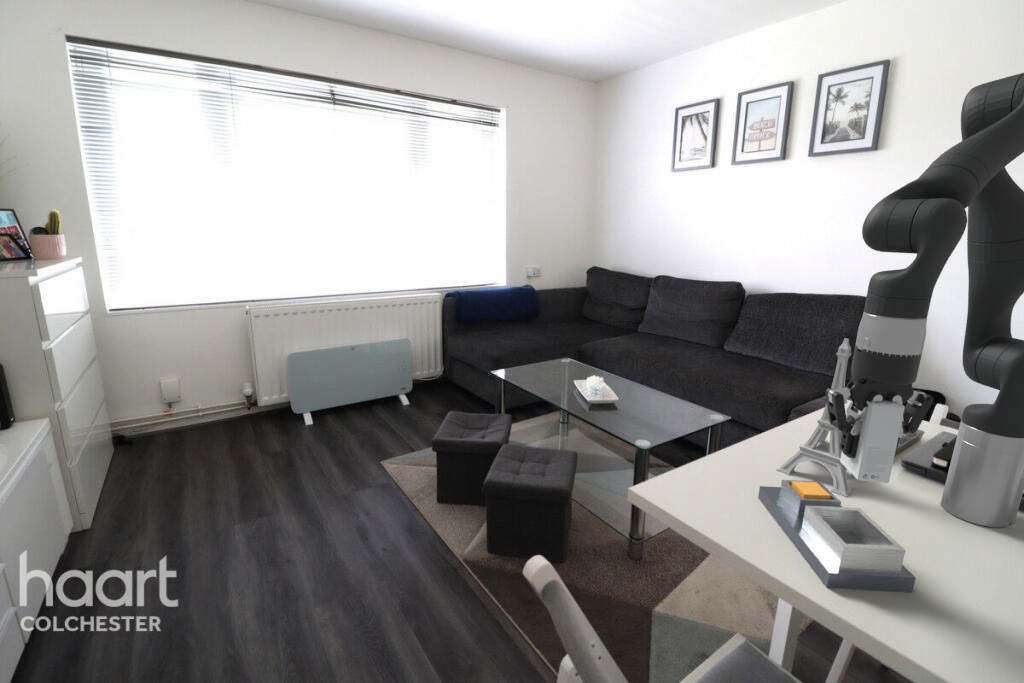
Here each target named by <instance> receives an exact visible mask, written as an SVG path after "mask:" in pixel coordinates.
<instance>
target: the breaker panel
mask: <svg viewBox="0 0 1024 683" xmlns="http://www.w3.org/2000/svg"><path fill="white" fill-rule="evenodd" d="M792 481H795V482H817V483H818V484H819V485H820V486H821V487H822V488H823V489H824V490H825V491H826V492H827V493H828V494H829V495H830V500H829V499H807V498H801V496H800V495H799V494H798V493H797V492H796V491H795V490H794V489H793V488H792V487H791V485H792ZM758 490H759V491H758V496H757V498H758V500H759V501H760V502H761V503H762V505H763V507H765V509H766V511H767V512H768V513H769V514H770V515H771V517H772V518H773V519H774V520H775V522H776V524H778V526H779V527H780V529H781V530H782V531H783V532H784V534H785V535H786V536H787V537H788V539H789V540H790V542H791V543H792V544H793V546H794V547H795V548H796V550H797V551H798V552H799V553H800V555H801V556H802V558H804V560H805V562H807V564H808V565H809V566H810V568H811V570H813V572H814V573H815V574H816V576H817V577H818V578H819V580H820V581H821V582H822V584H823V585H824V587H825V588H827V589H828V588H829V589H848V590H862V591H865V590H867V591H880V592H881V591H882V592H897V593H900V592H901V593H913V591H914V586H915V582H916V579H917V578H916V576H915V575H913V573H912V572H910V571H909V570H908V569H907V567H905V566H904V565H903V563H904V559H905V554H906V549H905V548H904V547H903V546H902V545H901V544H900V543H898V541H896V540H895V539H894V538H893V537H892V536H891V535H890V534H889V533H888V532H887V531H886V530H884V529H883V528H882V527H881V526H880V525H879V524H878V523H877V522H876V521H874V520H873V519H872V518H871V517H870V516H869V515H868V514H867V513H866V512H865V511H863V509H862V508H861V507H848V506H847V507H846V506H842V501H841V500H840V499H839V498H838V497H837V496H835V494H834V493H833V492H831V491H830V490H829V489H828V488H827V487H826V485H824V484H823V483H822V482H821V481H820V480H817V481H816V480H794V479H793V480H792V479H782V480H781V484H780V486H761V485H759V489H758Z"/></svg>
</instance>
